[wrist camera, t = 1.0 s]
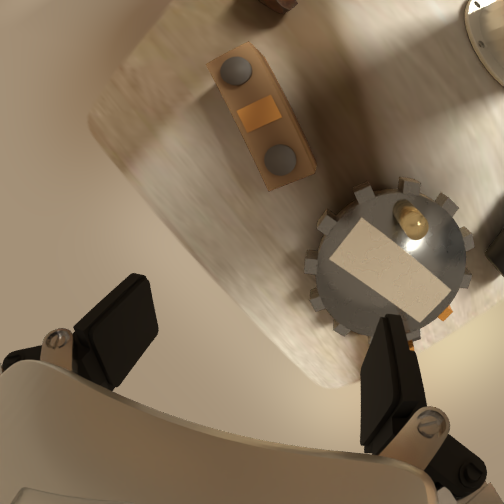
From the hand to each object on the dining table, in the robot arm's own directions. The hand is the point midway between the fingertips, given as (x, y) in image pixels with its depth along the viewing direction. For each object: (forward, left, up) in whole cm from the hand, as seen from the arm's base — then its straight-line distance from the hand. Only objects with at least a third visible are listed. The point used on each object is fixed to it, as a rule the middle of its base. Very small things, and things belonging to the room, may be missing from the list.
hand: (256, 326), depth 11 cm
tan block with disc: (-1, -9, -20) cm, 22 cm away
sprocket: (-7, +9, -18) cm, 22 cm away
